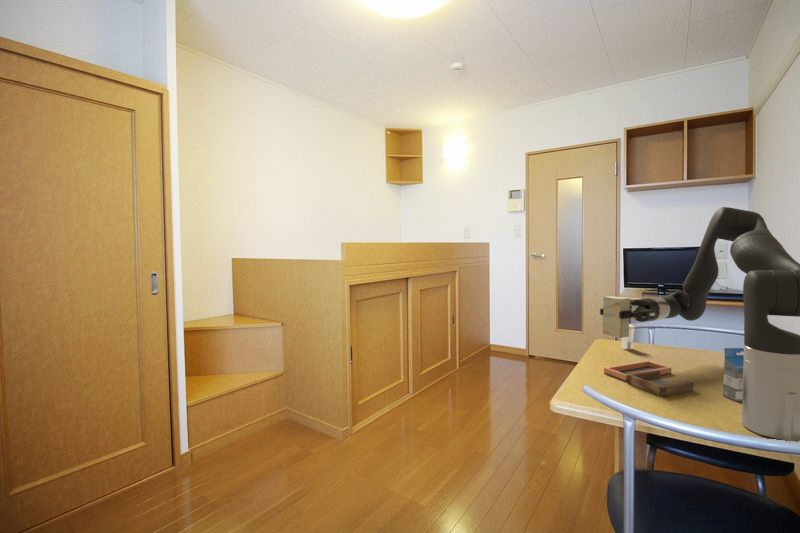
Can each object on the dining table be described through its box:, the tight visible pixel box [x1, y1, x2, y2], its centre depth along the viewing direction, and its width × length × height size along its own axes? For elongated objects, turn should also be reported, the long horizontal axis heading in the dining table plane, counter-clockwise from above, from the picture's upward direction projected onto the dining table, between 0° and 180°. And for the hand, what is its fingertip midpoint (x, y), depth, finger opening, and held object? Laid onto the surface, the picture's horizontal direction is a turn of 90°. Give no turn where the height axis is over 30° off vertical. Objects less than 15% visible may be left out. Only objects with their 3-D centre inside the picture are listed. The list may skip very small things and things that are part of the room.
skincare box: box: [602, 295, 631, 339], centre depth 118 cm, size 6×4×12 cm
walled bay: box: [627, 370, 695, 398], centre depth 102 cm, size 10×11×2 cm
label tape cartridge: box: [722, 347, 744, 402], centre depth 93 cm, size 9×4×12 cm, turn 88°
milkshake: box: [621, 321, 638, 351], centre depth 139 cm, size 4×5×10 cm
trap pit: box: [603, 360, 672, 383], centre depth 113 cm, size 8×18×2 cm, turn 109°
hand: (610, 313), depth 117 cm, fingers closed on skincare box, 6 cm apart
